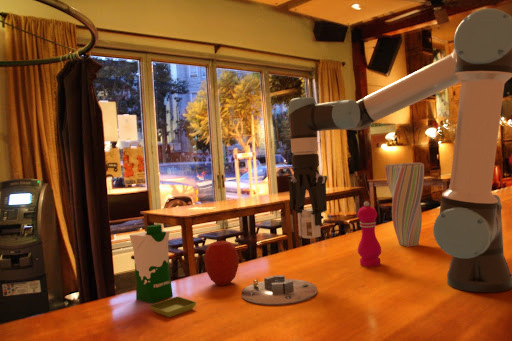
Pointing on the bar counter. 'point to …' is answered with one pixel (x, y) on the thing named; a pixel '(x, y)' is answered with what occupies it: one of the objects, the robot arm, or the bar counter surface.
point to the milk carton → (152, 264)
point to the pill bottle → (306, 223)
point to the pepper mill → (368, 237)
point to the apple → (221, 262)
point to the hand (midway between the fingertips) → (309, 235)
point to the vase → (406, 200)
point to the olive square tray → (173, 306)
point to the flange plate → (279, 299)
